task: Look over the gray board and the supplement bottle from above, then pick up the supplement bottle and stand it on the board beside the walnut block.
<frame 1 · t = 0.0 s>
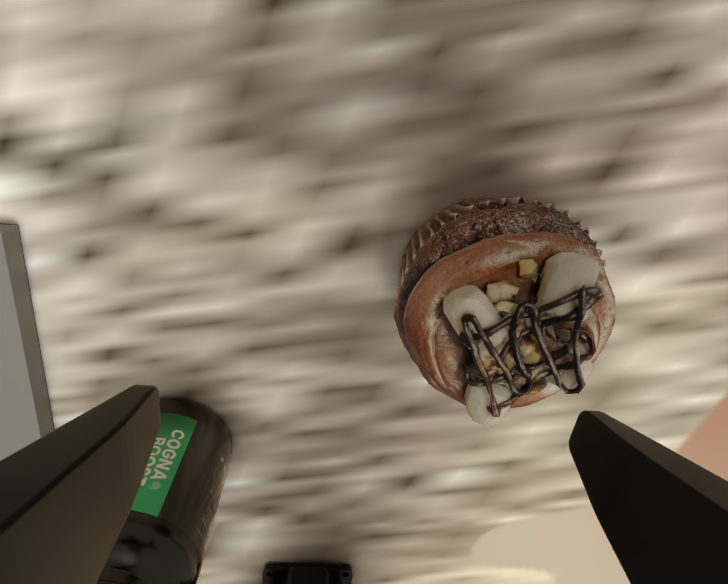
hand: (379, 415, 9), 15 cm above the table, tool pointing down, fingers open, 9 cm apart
supplement bottle: (178, 439, 27), on the table
cupcake: (469, 267, 24), on the table
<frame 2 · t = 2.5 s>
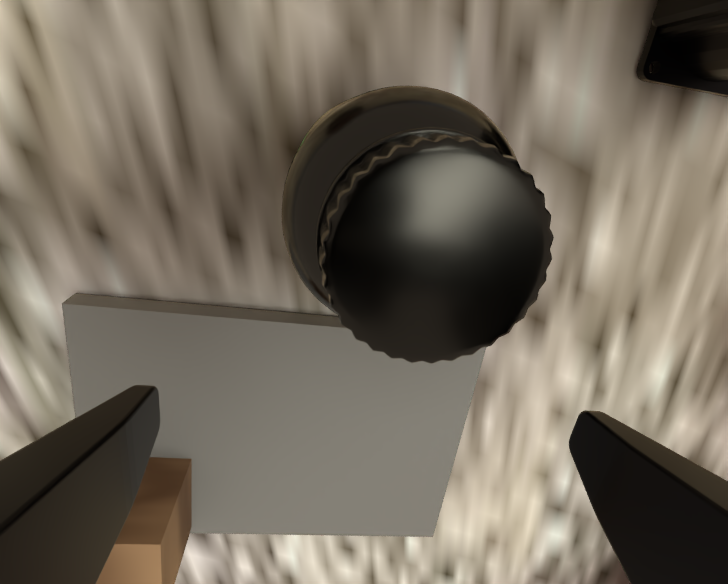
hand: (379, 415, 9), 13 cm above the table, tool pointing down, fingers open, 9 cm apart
walnut block: (143, 492, 24), point 1 cm above the table, touching gray board
supplement bottle: (370, 178, 20), on the table
gray board: (281, 425, 24), on the table
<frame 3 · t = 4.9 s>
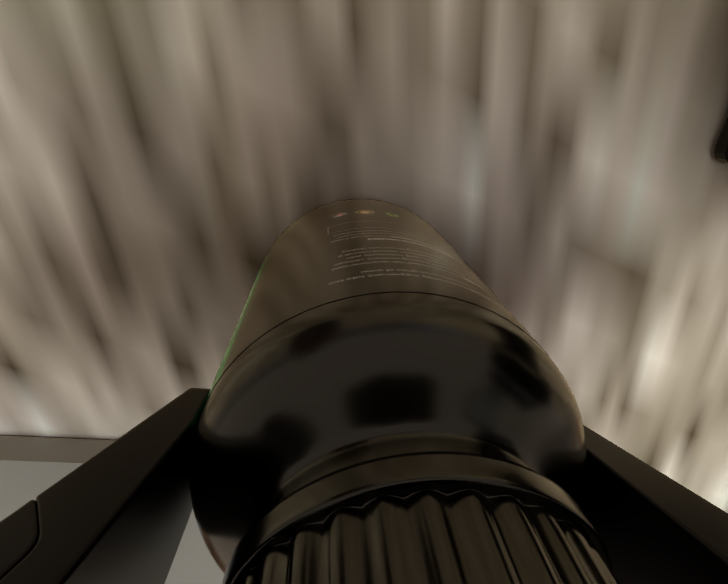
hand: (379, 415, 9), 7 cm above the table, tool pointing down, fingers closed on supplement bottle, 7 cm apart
supplement bottle: (358, 291, 15), on the table, touching gripper
gray board: (256, 565, 20), on the table
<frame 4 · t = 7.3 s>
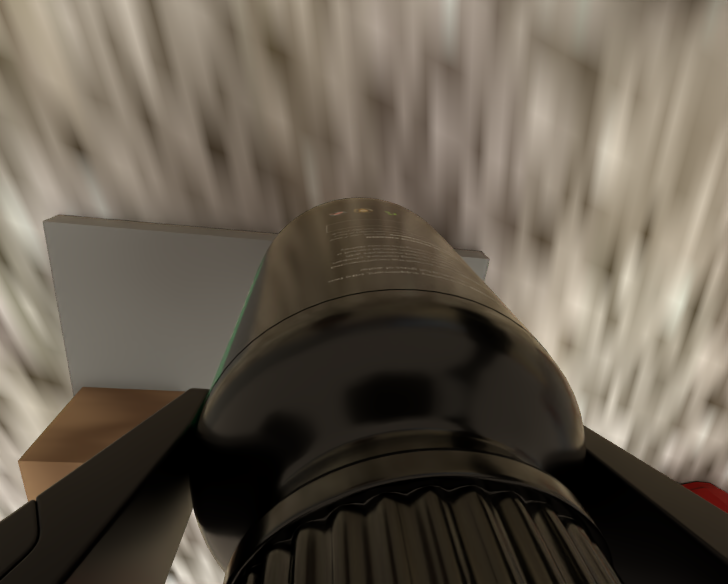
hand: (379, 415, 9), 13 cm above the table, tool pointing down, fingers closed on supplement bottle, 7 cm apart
walnut block: (138, 428, 23), point 1 cm above the table, touching gray board
supplement bottle: (356, 290, 15), point 6 cm above the table, touching gripper
gray board: (276, 359, 24), on the table
plastic cup: (680, 510, 31), on the table
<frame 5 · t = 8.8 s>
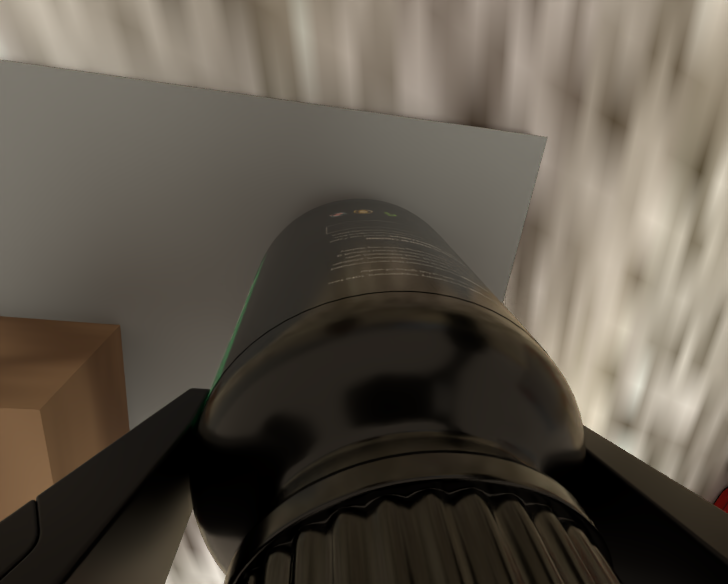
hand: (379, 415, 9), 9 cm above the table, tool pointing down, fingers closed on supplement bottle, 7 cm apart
walnut block: (57, 377, 17), point 1 cm above the table, touching gray board
supplement bottle: (356, 290, 15), point 2 cm above the table, touching gripper
gray board: (249, 286, 17), on the table
when the fingers open (9 cm above the table, at t = 9.7 s): supplement bottle drops 1 cm, resting on gray board.
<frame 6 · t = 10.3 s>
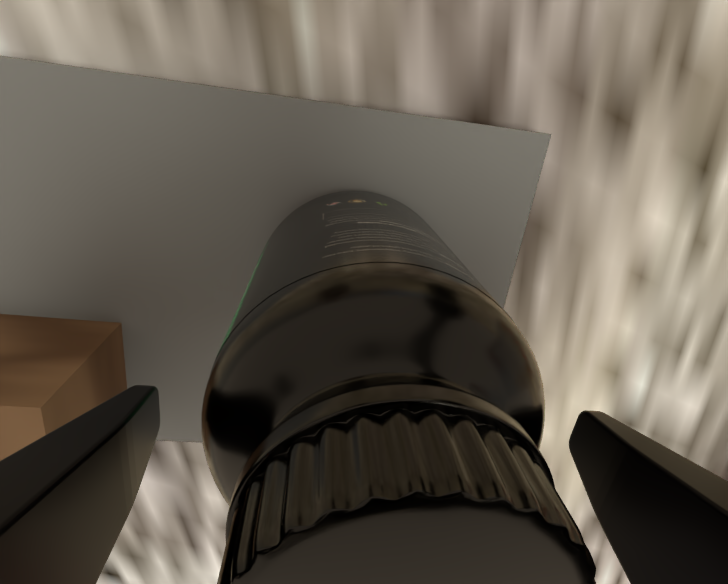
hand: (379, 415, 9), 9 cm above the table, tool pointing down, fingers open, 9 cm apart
walnut block: (58, 375, 17), point 1 cm above the table, touching gray board
supplement bottle: (352, 277, 16), point 1 cm above the table, touching gray board
gray board: (250, 284, 17), on the table
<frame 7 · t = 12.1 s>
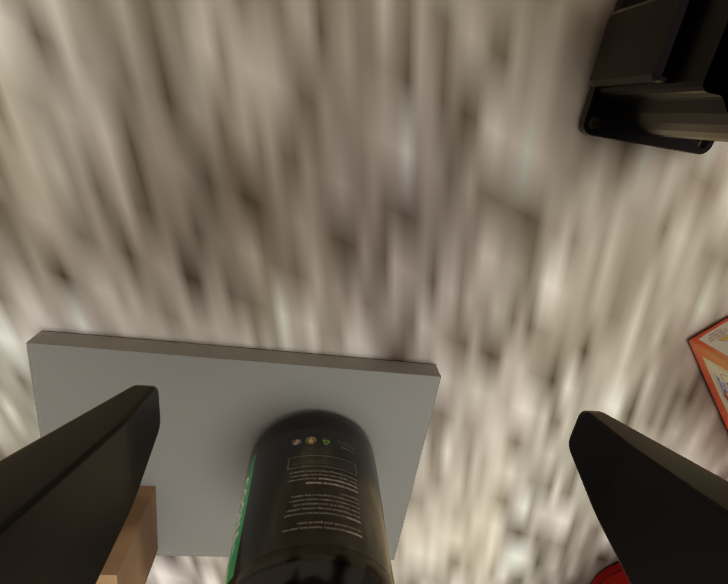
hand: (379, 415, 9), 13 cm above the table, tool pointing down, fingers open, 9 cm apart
walnut block: (110, 517, 25), point 1 cm above the table, touching gray board
supplement bottle: (312, 455, 24), point 1 cm above the table, touching gray board
gray board: (244, 453, 25), on the table
plastic cup: (621, 582, 34), on the table
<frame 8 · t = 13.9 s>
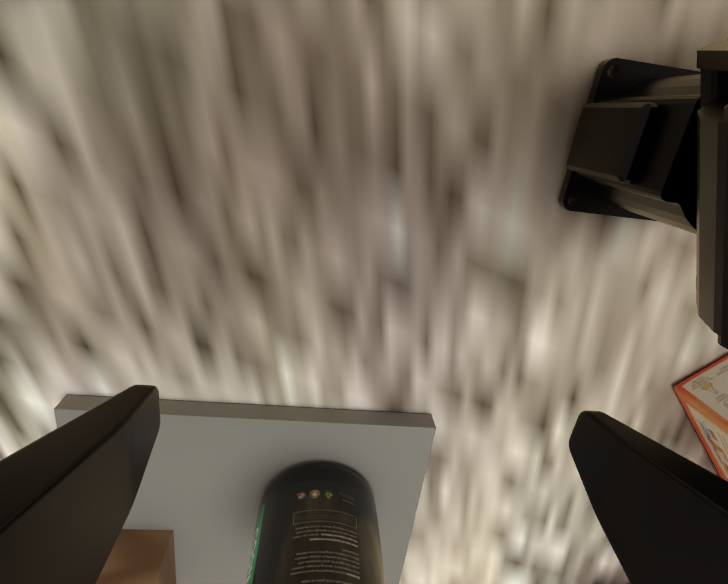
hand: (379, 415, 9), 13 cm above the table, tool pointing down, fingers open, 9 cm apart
walnut block: (132, 558, 27), point 1 cm above the table, touching gray board
supplement bottle: (318, 499, 26), point 1 cm above the table, touching gray board
gray board: (254, 497, 27), on the table
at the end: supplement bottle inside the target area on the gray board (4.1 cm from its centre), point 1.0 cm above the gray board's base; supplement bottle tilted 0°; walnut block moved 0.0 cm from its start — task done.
